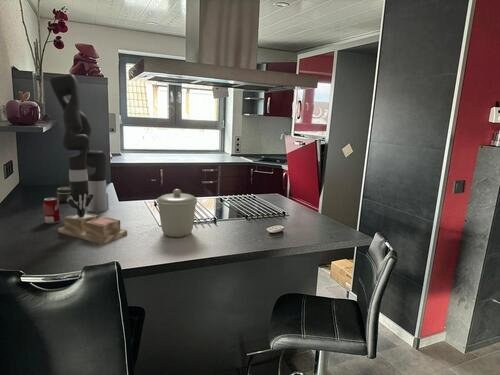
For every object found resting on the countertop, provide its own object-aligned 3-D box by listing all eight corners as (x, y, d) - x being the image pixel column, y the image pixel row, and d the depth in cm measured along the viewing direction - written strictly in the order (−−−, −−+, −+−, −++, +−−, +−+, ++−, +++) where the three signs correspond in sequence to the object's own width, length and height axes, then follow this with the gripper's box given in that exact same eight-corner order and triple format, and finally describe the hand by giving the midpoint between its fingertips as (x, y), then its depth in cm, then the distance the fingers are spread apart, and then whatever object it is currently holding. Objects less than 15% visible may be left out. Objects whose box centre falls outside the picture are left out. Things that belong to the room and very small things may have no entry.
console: (85, 224, 171) (84, 210, 169) (127, 234, 158) (126, 219, 157) (58, 232, 159) (57, 217, 157) (101, 244, 146) (100, 228, 145)
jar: (54, 200, 214) (53, 188, 213) (70, 197, 223) (69, 186, 221) (63, 203, 209) (62, 190, 207) (79, 200, 217) (78, 188, 215)
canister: (178, 243, 150) (177, 195, 145) (148, 235, 159) (147, 189, 155) (205, 232, 165) (205, 188, 160) (176, 225, 174) (176, 183, 170)
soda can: (53, 224, 169) (51, 200, 166) (41, 223, 170) (39, 199, 168) (63, 221, 175) (61, 197, 173) (51, 219, 177) (49, 196, 174)
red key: (104, 224, 159) (103, 218, 159) (115, 227, 156) (114, 220, 155) (91, 228, 153) (90, 221, 152) (102, 231, 150) (101, 224, 149)
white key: (83, 219, 165) (82, 213, 165) (93, 222, 162) (93, 215, 162) (69, 223, 159) (69, 217, 159) (80, 226, 156) (79, 219, 156)
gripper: (85, 176, 164) (88, 212, 168) (59, 180, 153) (62, 218, 156) (97, 178, 161) (99, 214, 164) (70, 182, 149) (73, 221, 153)
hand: (81, 216), depth 160 cm, fingers closed
